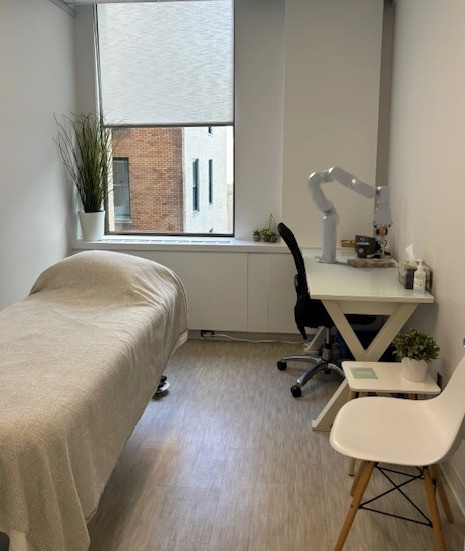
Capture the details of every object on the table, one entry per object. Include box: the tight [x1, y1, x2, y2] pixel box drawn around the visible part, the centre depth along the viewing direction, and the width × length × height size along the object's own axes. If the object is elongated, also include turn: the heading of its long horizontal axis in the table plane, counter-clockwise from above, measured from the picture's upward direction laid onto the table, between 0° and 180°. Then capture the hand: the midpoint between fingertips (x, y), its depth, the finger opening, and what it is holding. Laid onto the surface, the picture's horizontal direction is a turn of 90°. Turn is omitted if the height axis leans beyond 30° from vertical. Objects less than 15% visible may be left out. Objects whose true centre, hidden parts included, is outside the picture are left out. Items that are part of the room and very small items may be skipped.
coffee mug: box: [355, 242, 375, 259], centre depth 371 cm, size 12×9×10 cm
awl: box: [377, 225, 386, 245], centre depth 341 cm, size 5×5×11 cm
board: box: [346, 258, 396, 268], centre depth 344 cm, size 26×16×3 cm, turn 93°
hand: (381, 234), depth 341 cm, fingers closed on awl, 4 cm apart
